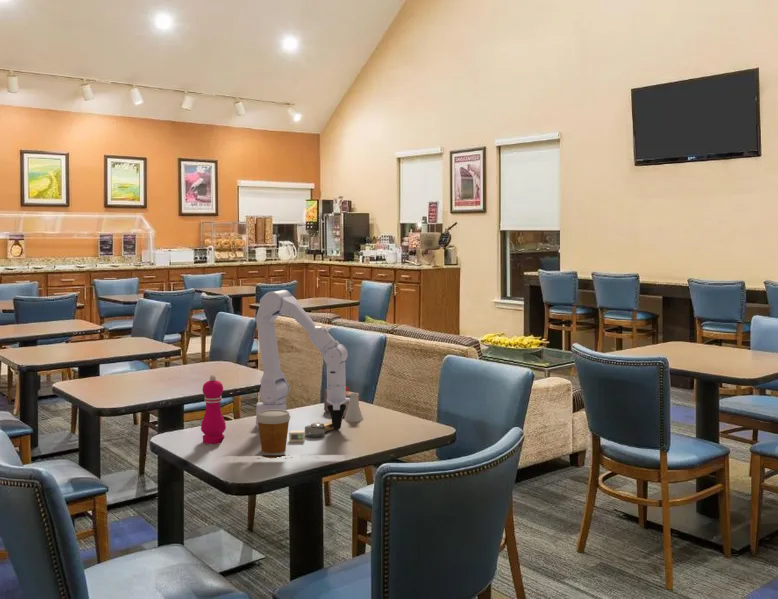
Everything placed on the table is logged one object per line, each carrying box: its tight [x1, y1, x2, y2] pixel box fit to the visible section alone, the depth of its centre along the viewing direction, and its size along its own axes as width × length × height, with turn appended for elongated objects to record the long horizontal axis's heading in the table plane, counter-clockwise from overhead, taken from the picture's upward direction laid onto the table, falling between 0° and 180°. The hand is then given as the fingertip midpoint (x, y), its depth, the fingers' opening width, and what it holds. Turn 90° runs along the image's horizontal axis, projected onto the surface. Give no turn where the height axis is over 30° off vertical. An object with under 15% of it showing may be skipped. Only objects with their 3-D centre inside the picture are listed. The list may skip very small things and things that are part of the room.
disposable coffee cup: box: [255, 409, 292, 459], centre depth 215 cm, size 10×10×12 cm
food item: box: [323, 385, 360, 418], centre depth 265 cm, size 14×8×10 cm, turn 40°
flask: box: [343, 392, 364, 423], centre depth 251 cm, size 7×7×10 cm
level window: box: [288, 429, 306, 443], centre depth 224 cm, size 4×3×3 cm
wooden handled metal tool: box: [304, 421, 335, 439], centre depth 234 cm, size 15×6×3 cm, turn 148°
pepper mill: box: [200, 374, 227, 445], centre depth 228 cm, size 7×7×20 cm
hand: (337, 428), depth 236 cm, fingers closed, pressing on wooden handled metal tool
